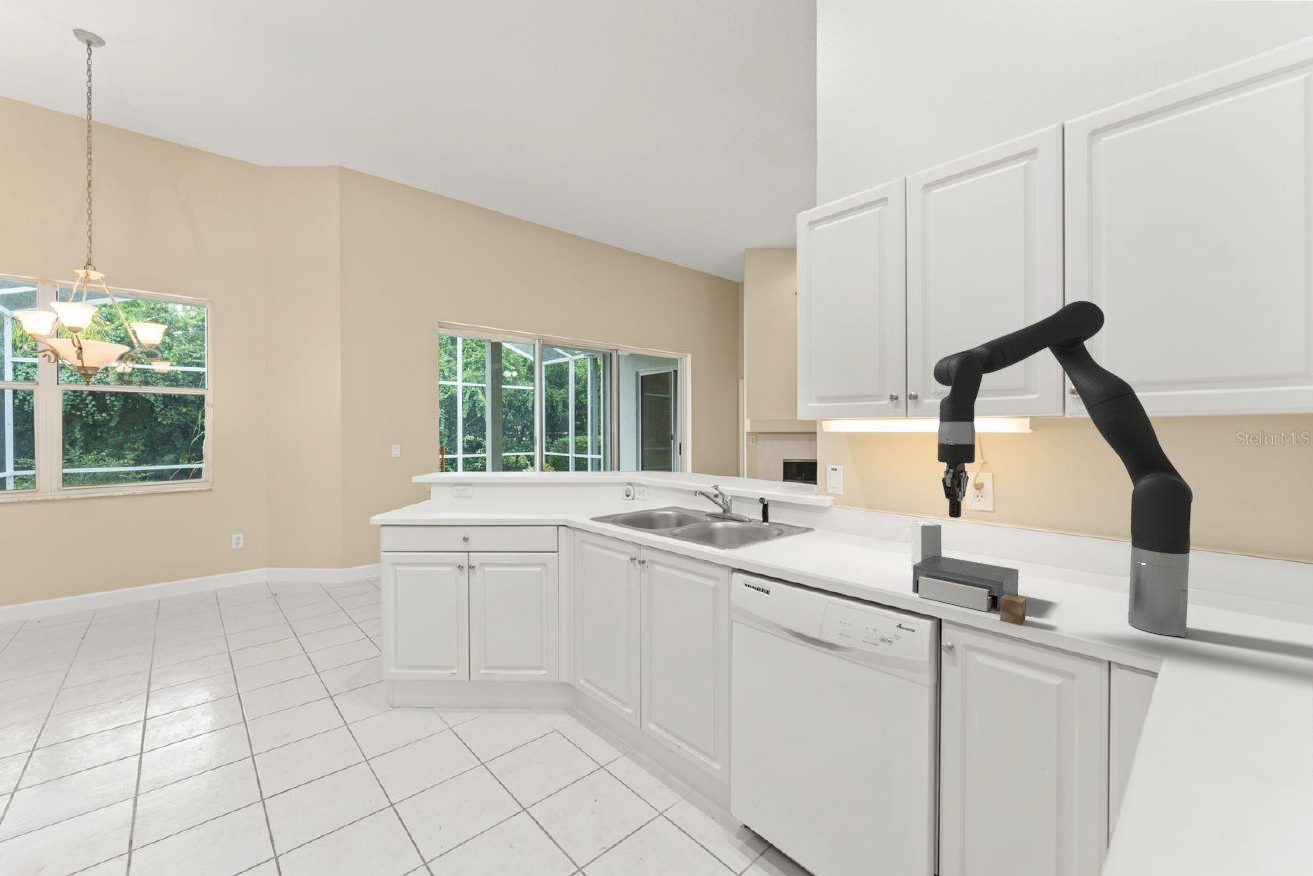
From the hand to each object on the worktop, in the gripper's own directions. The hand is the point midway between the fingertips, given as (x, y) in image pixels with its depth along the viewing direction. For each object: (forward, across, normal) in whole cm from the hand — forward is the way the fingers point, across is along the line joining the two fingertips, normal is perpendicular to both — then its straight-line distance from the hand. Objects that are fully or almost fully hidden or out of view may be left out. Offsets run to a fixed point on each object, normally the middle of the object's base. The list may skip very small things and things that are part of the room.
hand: (954, 517), depth 125 cm
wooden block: (+22, -4, +11) cm, 25 cm away
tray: (+22, -15, -2) cm, 26 cm away
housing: (+22, -17, -2) cm, 28 cm away
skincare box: (+22, -31, -15) cm, 41 cm away
